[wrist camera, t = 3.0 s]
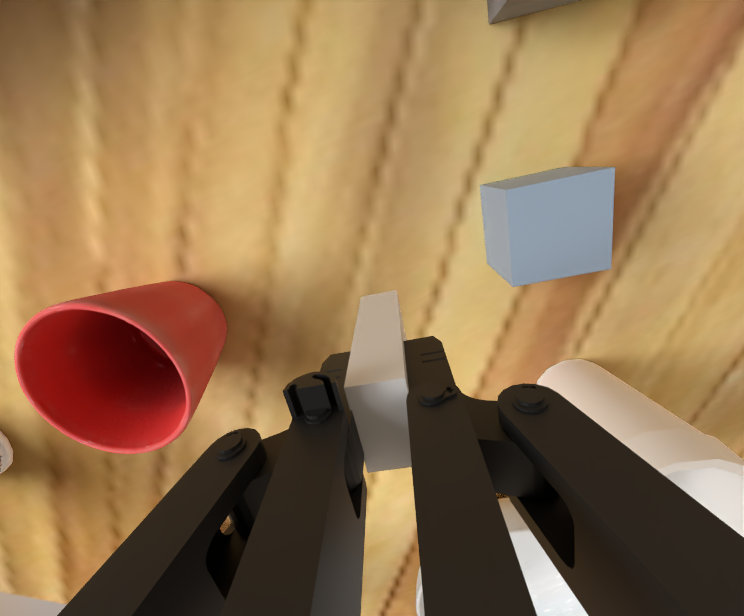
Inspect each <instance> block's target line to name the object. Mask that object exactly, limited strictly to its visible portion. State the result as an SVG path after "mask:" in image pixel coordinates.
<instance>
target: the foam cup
mask: <svg viewBox="0 0 744 616" xmlns="http://www.w3.org/2000/svg"><path fill="white" fill-rule="evenodd" d="M537 384H538V385H541V386H545V387H549V388H550V389H552V390H554V391H556V392H558V393H559V394H560V395H562V396H563V397H564V398H565V399H567V400H568V401H569V402H570V403H572V404H573V405H574V406H576V407H577V408H578V409H579V410H581V411H582V412H583V413H585V414H586V415H587V416H588V417H590V418H591V419H592V420H594V421H595V422H596V423H597V424H599V425H600V426H601V427H603V428H604V429H605V430H606V431H608V432H609V433H610V434H612V435H613V436H614V437H615V438H617V439H618V440H619V441H621V442H622V443H623V444H624V445H626V446H627V447H628V448H630V449H631V450H632V451H633V452H635V453H636V454H637V455H639V456H640V457H641V458H642V459H644V460H645V461H646V462H648V463H649V464H650V465H651V466H653V467H654V468H655V469H657V470H658V471H659V472H660V473H662V474H663V475H664V476H665V477H667V478H668V479H669V480H671V481H672V482H673V483H674V484H676V485H677V486H678V487H680V488H681V489H682V490H683V491H685V492H686V493H687V494H689V495H690V496H691V497H692V498H694V499H695V500H696V501H698V502H699V503H700V504H701V505H703V506H704V507H705V508H707V509H708V510H709V511H710V512H712V513H713V514H714V515H716V516H717V517H718V518H719V519H721V520H722V521H723V522H725V523H726V524H727V525H728V526H730V527H731V528H732V529H734V530H735V531H736V532H737V533H739V534H740V535H741V536H743V537H744V460H743V459H742V458H741V457H739V456H738V455H737V454H736V453H734V452H733V451H732V450H731V449H729V448H728V447H727V446H726V445H725V444H723V443H722V442H721V441H720V440H718V439H717V438H716V437H714V436H711V435H707V434H704V433H702V432H701V431H699V430H698V429H696V428H694V427H693V426H691V425H690V424H688V423H687V422H685V421H684V420H682V419H681V418H679V417H677V416H676V415H674V414H673V413H671V412H670V411H668V410H667V409H665V408H664V407H662V406H661V405H659V404H657V403H656V402H654V401H653V400H651V399H650V398H648V397H647V396H645V395H644V394H642V393H640V392H639V391H637V390H636V389H634V388H633V387H631V386H630V385H628V384H627V383H625V382H624V381H622V380H620V379H619V378H617V377H616V376H614V375H613V374H611V373H610V372H608V371H607V370H605V369H603V368H602V367H600V366H598V365H596V364H595V363H593V362H590V361H586V360H583V359H572V360H564V361H561V362H559V363H557V364H555V365H553V366H552V367H550V368H548V369H547V370H546V371H545V372H544V373H543V375H542V376H541V377H540V378H539V379H538V381H537Z"/></svg>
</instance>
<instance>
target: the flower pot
mask: <svg viewBox="0 0 744 616" xmlns="http://www.w3.org/2000/svg"><path fill="white" fill-rule="evenodd" d="M226 338H227V322H226V319H225V316H224V314H223V311H222V310H221V308H220V306H219V305H218V304H217V302H216V301H215V300H214V299H213V298H212V297H211V296H209V295H208V294H207V293H205V292H204V291H203V290H201V289H200V288H198V287H196V286H194V285H191V284H188V283H184V282H178V281H167V282H161V283H155V284H149V285H144V286H138V287H133V288H127V289H122V290H117V291H113V292H108V293H103V294H98V295H93V296H89V297H84V298H79V299H75V300H70V301H66V302H62V303H59V304H55V305H52V306H50V307H48V308H45V309H44V310H42V311H40V312H39V313H37V314H36V315H35V316H33V317H32V318H31V319H30V320H29V321H28V322H27V323H26V324H25V326H24V327H23V329H22V330H21V332H20V334H19V336H18V339H17V342H16V346H15V356H14V357H15V369H16V373H17V377H18V380H19V383H20V386H21V388H22V390H23V392H24V394H25V396H26V397H27V399H28V400H29V402H30V403H31V404H32V405H33V407H34V408H35V409H36V410H37V412H38V413H39V414H40V415H41V416H42V417H43V418H44V419H45V420H47V421H48V422H49V423H50V424H51V425H52V426H54V427H55V428H56V429H58V430H59V431H61V432H62V433H64V434H65V435H67V436H68V437H70V438H72V439H74V440H76V441H78V442H80V443H82V444H85V445H87V446H90V447H93V448H96V449H99V450H103V451H108V452H113V453H122V454H136V453H144V452H150V451H154V450H157V449H160V448H162V447H164V446H166V445H168V444H169V443H171V442H173V441H174V440H175V439H176V438H178V437H179V436H180V435H181V434H182V432H183V431H184V430H185V429H186V427H187V426H188V424H189V422H190V420H191V418H192V416H193V414H194V412H195V410H196V408H197V406H198V404H199V402H200V400H201V398H202V395H203V393H204V391H205V389H206V387H207V384H208V382H209V380H210V378H211V375H212V373H213V371H214V369H215V366H216V364H217V362H218V359H219V357H220V354H221V352H222V349H223V347H224V344H225V342H226Z"/></svg>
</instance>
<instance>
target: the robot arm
mask: <svg viewBox="0 0 744 616" xmlns="http://www.w3.org/2000/svg"><path fill="white" fill-rule="evenodd" d="M283 393H284V396H285V399H286V402H287V405H288V407H289V410H290V413H291V416H292V422H291V424H290V427H289V429H288V430H285V431H283V432H281V433H279V434H276V435H273V436H271V437H268V438H265V439H263V440H262V439H261V437H260V434H259V433H258V432H257V431H256V430H255V429H250V428H244V429H238V430H234V431H231V432H229V433H227V434H226V435H224V436H222V437H221V438H219V439H217V440H216V441H215V442H214V443H213V444H212V445H211V446H210V447H209V448H208V449H207V450H206V451H205V452H204V453H203V454H202V455H201V457H200V458H199V459H198V460H197V461H196V462H195V463H194V464H193V465H192V467H191V468H190V469H189V470H188V471H187V472H186V473H185V474H184V475H183V477H182V478H181V479H180V480H179V481H178V482H177V483H176V484H175V485H174V487H173V488H172V489H171V490H170V491H169V492H168V493H167V494H166V495H165V497H164V498H163V499H162V500H161V501H160V502H159V503H158V504H157V505H156V507H155V508H154V509H153V510H152V511H151V512H150V513H149V514H148V515H147V517H146V518H145V519H144V520H143V521H142V522H141V523H140V524H139V525H138V527H137V528H136V529H135V530H134V531H133V532H132V533H131V534H130V535H129V537H128V538H127V539H126V540H125V541H124V542H123V543H122V544H121V545H120V547H119V548H118V549H117V550H116V551H115V552H114V553H113V554H112V555H111V557H110V558H109V559H108V560H107V561H106V562H105V563H104V564H103V565H102V567H101V568H100V569H99V570H98V571H97V572H96V573H95V574H94V575H93V576H92V578H91V579H90V580H89V581H88V582H87V583H86V584H85V585H84V586H83V588H82V589H81V590H80V591H79V592H78V593H77V594H76V595H75V596H74V598H73V599H72V600H71V601H70V602H69V603H68V604H67V605H66V606H65V608H64V609H63V610H62V611H61V612H60V613H59V614H58V615H57V616H360V613H361V594H362V575H363V556H364V537H365V518H366V500H367V487H366V482H365V478H364V475H363V465H364V461H365V464H366V468H367V472H368V473H369V472H376V471H383V470H391V469H398V468H406V467H412V475H413V486H414V498H415V510H416V521H417V533H418V544H419V556H420V567H421V579H422V590H423V602H424V613H425V616H537V614H536V611H535V608H534V605H533V602H532V599H531V596H530V593H529V590H528V587H527V584H526V581H525V578H524V575H523V572H522V569H521V566H520V563H519V560H518V558H517V555H516V552H515V549H514V546H513V543H512V540H511V537H510V534H509V531H508V528H507V525H506V522H505V519H504V516H503V513H502V510H501V507H500V504H499V502H498V499H497V496H496V493H499V494H505V495H508V497H509V499H510V502H511V503H512V504H513V506H514V507H515V509H516V510H517V512H518V513H519V515H520V516H521V518H522V519H523V521H524V522H525V523H526V525H527V526H528V528H529V529H530V531H531V532H532V534H533V535H534V537H535V538H536V540H537V541H538V543H539V544H540V545H541V547H542V548H543V550H544V551H545V553H546V554H547V556H548V557H549V559H550V560H551V562H552V563H553V564H554V566H555V567H556V569H557V570H558V572H559V573H560V575H561V576H562V578H563V579H564V581H565V582H566V583H567V585H568V586H569V588H570V589H571V591H572V592H573V594H574V595H575V597H576V598H577V600H578V601H579V603H580V604H581V605H582V607H583V608H584V610H585V611H586V613H587V614H588V616H744V537H743V536H741V535H740V534H739V533H737V532H736V531H735V530H734V529H732V528H731V527H730V526H728V525H727V524H726V523H725V522H723V521H722V520H721V519H719V518H718V517H717V516H716V515H714V514H713V513H712V512H710V511H709V510H708V509H707V508H705V507H704V506H703V505H701V504H700V503H699V502H698V501H696V500H695V499H694V498H692V497H691V496H690V495H689V494H687V493H686V492H685V491H683V490H682V489H681V488H680V487H678V486H677V485H676V484H674V483H673V482H672V481H671V480H669V479H668V478H667V477H665V476H664V475H663V474H662V473H660V472H659V471H658V470H657V469H655V468H654V467H653V466H651V465H650V464H649V463H648V462H646V461H645V460H644V459H642V458H641V457H640V456H639V455H637V454H636V453H635V452H633V451H632V450H631V449H630V448H628V447H627V446H626V445H624V444H623V443H622V442H621V441H619V440H618V439H617V438H615V437H614V436H613V435H612V434H610V433H609V432H608V431H606V430H605V429H604V428H603V427H601V426H600V425H599V424H597V423H596V422H595V421H594V420H592V419H591V418H590V417H588V416H587V415H586V414H585V413H583V412H582V411H581V410H579V409H578V408H577V407H576V406H574V405H573V404H572V403H570V402H569V401H568V400H567V399H565V398H564V397H563V396H562V395H560V394H559V393H558V392H556V391H554V390H552V389H550V388H549V387H545V386H541V385H538V384H519V385H513V386H511V387H509V388H507V389H504V390H503V391H502V392H501V393H500V395H499V396H498V401H486V400H479V399H474V398H471V397H468V396H466V395H464V394H463V393H462V392H461V391H460V389H459V388H458V387H457V386H456V385H455V381H454V378H453V375H452V372H451V369H450V366H449V363H448V360H447V357H446V354H445V352H444V348H443V345H442V342H441V341H439V340H438V339H436V338H435V337H434V336H430V337H424V338H419V339H413V340H406V335H405V330H404V325H403V320H402V315H401V310H400V304H399V299H398V294H397V290H393V291H388V292H383V293H378V294H372V295H367V296H362V297H361V299H360V305H359V310H358V315H357V321H356V326H355V331H354V337H353V342H352V347H351V351H350V352H344V353H339V354H333V355H330V356H329V357H328V358H327V359H326V360H325V361H324V363H323V364H322V367H321V370H320V372H312V373H309V374H305V375H302V376H300V377H298V378H296V379H294V380H293V381H292V382H290V383H289V384H288V385H287V386H286V387H285V389H284V390H283ZM227 516H229V518H230V520H231V522H232V523H231V524H230V526H229V528H228V529H227V530H226V531H225V532H224V533H222V532H221V530H220V527H221V525H222V524H223V522H224V521H225V519H226V518H227Z"/></svg>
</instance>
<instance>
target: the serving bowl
mask: <svg viewBox="0 0 744 616" xmlns="http://www.w3.org/2000/svg"><path fill="white" fill-rule="evenodd" d="M498 502H499V504H500V507H501V510H502V513H503V516H504V519H505V522H506V525H507V528H508V531H509V534H510V537H511V540H512V543H513V546H514V549H515V552H516V555H517V558H518V560H519V563H520V566H521V569H522V572H523V575H524V578H525V581H526V584H527V587H528V590H529V593H530V596H531V599H532V602H533V605H534V608H535V611H536V614H537V616H588V614H587V613H586V611H585V610H584V608H583V607H582V605H581V604H580V603H579V601H578V600H577V598H576V597H575V595H574V594H573V592H572V591H571V589H570V588H569V586H568V585H567V583H566V582H565V581H564V579H563V578H562V576H561V575H560V573H559V572H558V570H557V569H556V567H555V566H554V564H553V563H552V562H551V560H550V559H549V557H548V556H547V554H546V553H545V551H544V550H543V548H542V547H541V545H540V544H539V543H538V541H537V540H536V538H535V537H534V535H533V534H532V532H531V531H530V529H529V528H528V526H527V525H526V523H525V522H524V521H523V519H522V518H521V516H520V515H519V513H518V512H517V510H516V509H515V507H514V506H513V504H512V503H511V502H510V499H509V498H501V499H498ZM416 611H417V616H425V613H424V602H423V590H422V579H421V567H419V572H418V577H417V587H416Z"/></svg>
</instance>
